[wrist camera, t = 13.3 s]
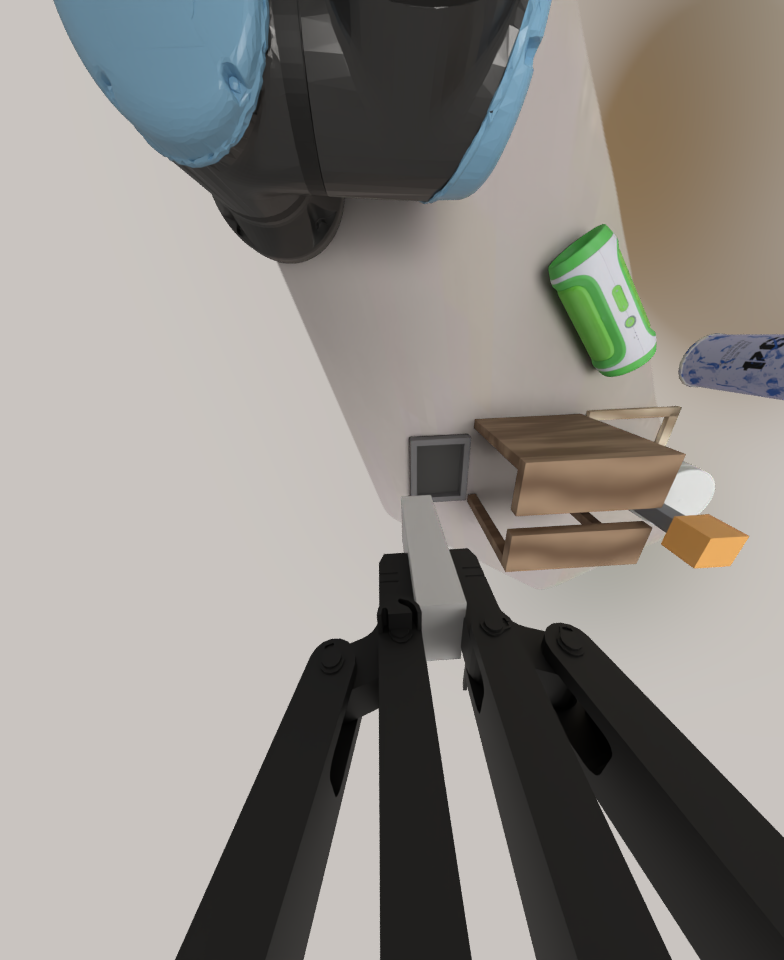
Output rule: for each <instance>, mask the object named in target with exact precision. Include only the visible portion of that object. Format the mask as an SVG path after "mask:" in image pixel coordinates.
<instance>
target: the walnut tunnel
mask: <svg viewBox="0 0 784 960" xmlns="http://www.w3.org/2000/svg"><path fill="white" fill-rule="evenodd" d="M474 428H475V429H476V430H477V431H478V432H479V433H480V434H481V435H482V436H483V437H484V438H485V439H486V440H487V441H488V442H489V443H490V444H491V445H492V446H494V447H495V448H496V449H497V450H498V451H499V452H500V453H501V454H502V455H503V456H504V457H505V458H506V459H507V460H508V461H509V462H510V463H511V464H512V465H513V466H515V467H516V468H517V469H518V471H517V477H516V483H515V488H514V494H513V500H512V506H511V510H512V512H513V513H514V514H515V516H528V515H545V514H562V513H570V514H571V515H572V516H573V517H575V518H576V519H577V520H578V521H579V522H580V523H581V524H582V525H567V526H550V527H533V528H516V529H507V534H506V540H504V539H503V537H502V536H501V534H500V532H499V531H498V529H497V528H496V526H495V524H494V523H493V521H492V520H491V518H490V516H489V515H488V513H487V511H486V510H485V508H484V507H483V505H482V503H481V502H480V500H479V499H478V497H477V495H476V494H469V495H468V499H467V502H468V504H469V505H470V507H471V509H472V511H473V513H474V515H475V516H476V518H477V520H478V522H479V524H480V526H481V528H482V529H483V531H484V533H485V535H486V537H487V539H488V540H489V542H490V544H491V546H492V548H493V550H494V552H495V553H496V555H497V557H498V559H499V561H500V563H501V564H502V566H503V568H504V570H505V572H512V571H529V570H545V569H561V568H577V567H593V566H609V565H625V564H636V563H637V561H638V559H639V557H640V554H641V552H642V550H643V548H644V546H645V543H646V541H647V539H648V537H649V535H650V532H651V530H652V527H651V526H649V525H648V524H646V523H645V522H644V521H635V522H618V523H601V522H600V521H598V520H597V519H596V518H595V517H594V516H593V515H591V514H590V513H589V512H597V511H614V510H632V509H649V508H662V506H663V504H664V502H665V499H666V497H667V495H668V493H669V491H670V488H671V486H672V484H673V482H674V480H675V477H676V475H677V473H678V471H679V469H680V466H681V464H682V462H683V460H684V457H685V455H686V454H684V453H681V452H679V451H676V450H673V449H671V448H668V447H666V446H663V445H660V444H658V443H655V442H653V441H650V440H647V439H645V438H642V437H640V436H637V435H634V434H632V433H629V432H626V431H624V430H621V429H619V428H616V427H613V426H611V425H608V424H606V423H603V422H600V421H598V420H595V419H593V418H590V417H587V416H585V415H582V414H569V415H549V416H529V417H510V418H490V419H475V424H474Z"/></svg>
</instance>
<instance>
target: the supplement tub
mask: <svg viewBox="0 0 784 960" xmlns="http://www.w3.org/2000/svg"><path fill="white" fill-rule="evenodd" d="M714 491H715V482H714V479H713V477H712V476H711V475H710V474H709V473H708V472H706V471H704V470H701V469H700V468H698V467H696V466H694V465H692V464H689V463H687V462H684V461H683V462H682V464H681V466H680V469H679V471H678V473H677V475H676V477H675V480H674V482H673V484H672V486H671V488H670V491H669V493H668V495H667V497H666V499H665V502H664V503H665V504H666V505H668V506H670V507H671V508H673V509H675V510H677V511H678V512H680V513H682V514H683V515H685V516H688V515H698V514H699V513H700V512H701V511H703V509H705V507H706V506H707V505H708V504H709V502H710V501H711V499H712V497H713V494H714ZM629 511H631V512H632V513H634V514H635V515H637V516H638V517H640V518H641V519H643V520H645V521H647V522H649V523H651V522H650V521H648V520H647V519H645V518H644V517H642V516H641V515H639V514H638V513H636V512H635V511H634V510H629ZM651 524H652V525H654V524H653V523H651ZM655 526H656V525H655Z"/></svg>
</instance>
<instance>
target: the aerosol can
mask: <svg viewBox="0 0 784 960" xmlns="http://www.w3.org/2000/svg"><path fill="white" fill-rule="evenodd" d="M679 379H680V380H681V382H682V383H683V384H685V385H687V386H689V387H704V388H710V389H716V390H723V391H729V392H735V393H742V394H748V395H754V396H761V397H767V398H774V399H780V400H784V335H726V334H719V333H715V334H711V335H707V336H705V337H703V338H701V339H700V340H698V341H697V342H696V343H694V344H693V345H692V346H691V347H690V348H689V349H688V351H687V352H686V353H685V355H684V356H683V358H682V360H681V362H680V366H679Z"/></svg>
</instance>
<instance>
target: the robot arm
mask: <svg viewBox="0 0 784 960" xmlns="http://www.w3.org/2000/svg"><path fill="white" fill-rule="evenodd" d="M551 1H552V0H54V3H55V5H56V8H57V11H58V13H59V16H60V18H61V20H62V23H63V25H64V28H65V30H66V32H67V34H68V36H69V38H70V40H71V42H72V44H73V46H74V48H75V50H76V51H77V53H78V55H79V57H80V59H81V60H82V62H83V64H84V65H85V67H86V69H87V70H88V72H89V73H90V75H91V76H92V78H93V79H94V81H95V82H96V84H97V85H98V86H99V88H100V89H101V90H102V92H103V93H104V94H105V96H106V97H107V98H108V99H109V100H110V102H111V103H112V104H113V105H114V106H115V107H116V108H117V109H118V111H119V112H120V113H121V114H122V115H123V116H124V117H125V118H126V119H128V120H129V121H130V122H131V123H132V124H133V125H134V127H135V128H136V129H137V131H138V132H139V133H140V134H141V135H142V136H143V137H144V139H145V140H146V141H147V142H148V144H149V145H150V146H151V147H152V148H154V149H155V150H156V151H157V152H158V153H160V154H161V155H163V156H164V157H168V159H169V160H171V161H173V162H174V163H175V164H176V165H178V166H179V167H180V168H181V169H182V170H184V171H185V172H186V173H187V174H189V175H190V176H191V177H192V178H193V179H195V180H196V181H197V182H198V183H199V184H200V185H202V186H203V187H204V188H205V189H206V190H208V191H209V192H210V193H211V194H212V196H213V198H214V200H215V203H216V205H217V207H218V209H219V210H220V212H221V214H222V216H223V217H224V219H225V220H226V222H227V223H228V224H229V226H230V227H231V228H232V230H233V231H234V232H235V233H236V234H237V235H238V236H239V237H240V238H241V239H242V240H243V241H244V242H245V243H246V244H247V245H249V246H250V247H252V248H253V249H254V250H256V251H257V252H259V253H260V254H262V255H264V256H265V257H267V258H270V259H272V260H275V261H278V262H283V263H299V262H303V261H306V260H309V259H311V258H313V257H315V256H316V255H318V254H319V253H321V252H322V251H323V250H324V249H325V248H326V247H327V246H328V244H329V243H330V242H331V240H332V239H333V237H334V235H335V234H336V231H337V229H338V227H339V224H340V221H341V218H342V214H343V208H344V199H345V197H346V198H366V199H386V200H406V201H419V202H421V203H423V204H427V203H433V202H435V201H437V200H460V199H464V198H466V197H469V196H470V195H472V194H473V193H475V192H476V191H477V190H478V189H479V188H480V187H481V186H482V185H483V183H484V182H485V181H486V180H487V178H488V177H489V175H490V174H491V172H492V171H493V169H494V168H495V166H496V164H497V162H498V160H499V158H500V156H501V155H502V153H503V151H504V148H505V146H506V144H507V142H508V140H509V138H510V135H511V133H512V131H513V128H514V126H515V123H516V121H517V118H518V116H519V113H520V111H521V108H522V105H523V102H524V99H525V97H526V94H527V91H528V88H529V85H530V81H531V78H532V74H533V71H534V70H533V67H532V66H533V58H534V55H535V53H536V51H537V49H538V46H539V44H540V42H541V40H542V38H543V35H544V31H545V27H546V23H547V19H548V14H549V10H550V6H551ZM401 508H402V541H403V549H404V553H396V554H384V555H383V557H382V559H381V561H380V563H379V608H378V612H377V622H378V624H377V626H376V627H375V629H374V630H373V632H372V633H370V634H369V635H368V636H366V637H364V638H362V639H360V640H357V641H355V642H353V643H349V642H348V641H345V640H343V639H330V640H328V641H325V642H323V643H322V644H320V645H319V646H318V647H317V648H316V649H315V650H314V652H313V653H312V655H311V656H310V659H309V661H308V663H307V665H306V668H305V670H304V672H303V674H302V676H301V679H300V681H299V683H298V685H297V688H296V690H295V692H294V695H293V697H292V699H291V701H290V703H289V706H288V708H287V710H286V712H285V715H284V717H283V719H282V721H281V724H280V726H279V728H278V730H277V733H276V735H275V737H274V739H273V741H272V744H271V746H270V748H269V750H268V753H267V755H266V757H265V760H264V762H263V764H262V766H261V769H260V771H259V773H258V775H257V777H256V780H255V782H254V784H253V786H252V789H251V791H250V793H249V796H248V798H247V800H246V802H245V804H244V806H243V809H242V811H241V813H240V816H239V818H238V820H237V822H236V824H235V827H234V829H233V831H232V833H231V836H230V838H229V840H228V842H227V845H226V847H225V849H224V851H223V854H222V856H221V858H220V861H219V863H218V865H217V867H216V869H215V871H214V874H213V876H212V878H211V881H210V883H209V885H208V887H207V889H206V892H205V894H204V896H203V899H202V901H201V903H200V905H199V908H198V910H197V912H196V914H195V916H194V919H193V921H192V923H191V925H190V928H189V930H188V932H187V934H186V936H185V939H184V941H183V943H182V945H181V948H180V950H179V952H178V954H177V957H176V959H175V960H303V959H304V955H305V951H306V947H307V943H308V938H309V934H310V929H311V926H312V922H313V918H314V913H315V910H316V905H317V901H318V897H319V892H320V889H321V885H322V881H323V876H324V872H325V868H326V864H327V859H328V856H329V852H330V847H331V843H332V839H333V835H334V831H335V827H336V823H337V818H338V814H339V810H340V806H341V802H342V797H343V793H344V789H345V785H346V781H347V777H348V772H349V769H350V765H351V760H352V756H353V752H354V748H355V744H356V740H357V736H358V731H359V727H360V723H361V719H362V716H364V715H366V714H368V713H370V712H372V711H374V710H376V709H378V708H379V801H380V803H379V809H380V810H379V812H380V813H379V814H380V960H472V958H471V951H470V945H469V939H468V932H467V925H466V919H465V912H464V906H463V899H462V892H461V886H460V880H459V873H458V866H457V860H456V853H455V846H454V840H453V833H452V827H451V820H450V813H449V807H448V801H447V794H446V787H445V782H444V774H443V768H442V761H441V754H440V748H439V741H438V735H437V728H436V722H435V715H434V709H433V702H432V695H431V689H430V682H429V676H428V669H427V662H426V661H433V660H448V659H460V658H461V650H462V653H463V657H464V661H465V669H464V678H463V690H467V687H468V691H469V695H470V699H471V703H472V706H473V711H474V715H475V718H476V723H477V726H478V730H479V734H480V738H481V742H482V746H483V750H484V754H485V758H486V762H487V766H488V770H489V774H490V778H491V782H492V786H493V789H494V794H495V798H496V802H497V805H498V809H499V813H500V817H501V821H502V825H503V829H504V833H505V837H506V841H507V845H508V849H509V853H510V857H511V861H512V865H513V868H514V873H515V877H516V881H517V885H518V888H519V892H520V896H521V900H522V904H523V908H524V912H525V916H526V920H527V924H528V928H529V932H530V936H531V940H532V944H533V948H534V952H535V956H536V959H537V960H672V959H671V957H670V955H669V953H668V951H667V949H666V946H665V944H664V942H663V940H662V938H661V936H660V933H659V931H658V929H657V927H656V925H655V923H654V921H653V919H652V916H651V914H650V912H649V910H648V908H647V906H646V904H645V902H644V900H643V897H642V895H641V893H640V891H639V889H638V887H637V884H636V882H635V880H634V878H633V876H632V874H631V872H630V870H629V868H628V865H627V863H626V861H625V859H624V857H623V855H622V853H621V851H620V849H619V846H618V844H617V842H616V840H615V838H614V836H613V833H612V831H611V829H610V827H609V825H608V823H607V821H606V819H605V816H604V814H603V812H602V810H601V808H600V806H599V804H598V802H599V803H600V805H601V806H602V808H603V809H604V811H605V813H606V814H607V815H608V817H609V819H610V820H611V821H612V823H613V825H614V826H615V828H616V830H617V831H618V832H619V834H620V836H621V837H622V839H623V840H624V842H625V843H626V845H627V846H628V848H629V849H630V851H631V853H632V854H633V856H634V857H635V859H636V860H637V862H638V864H639V865H640V867H641V868H642V870H643V871H644V873H645V874H646V876H647V878H648V879H649V881H650V882H651V883H652V885H653V887H654V888H655V890H656V891H657V893H658V894H659V896H660V898H661V899H662V901H663V902H664V904H665V905H666V907H667V908H668V910H669V911H670V913H671V915H672V916H673V918H674V919H675V921H676V922H677V924H678V925H679V927H680V929H681V930H682V932H683V933H684V935H685V936H686V938H687V939H688V941H689V942H690V944H691V945H692V947H693V949H694V950H695V952H696V953H697V955H698V956H699V958H700V960H784V837H782V835H781V834H780V833H779V832H778V831H777V830H776V829H775V828H774V827H773V826H772V825H771V824H770V823H769V822H768V821H767V820H766V819H765V818H764V817H763V816H762V815H761V814H760V813H759V812H758V811H757V810H756V809H755V808H754V807H753V806H752V804H751V803H750V802H749V801H748V800H747V799H746V798H745V797H744V796H743V795H742V794H741V793H740V792H739V791H738V790H737V789H736V788H735V787H734V786H733V785H732V784H731V783H730V782H729V781H728V780H727V779H726V778H725V777H724V776H723V775H722V774H721V773H720V772H719V770H718V769H717V768H716V767H715V766H714V765H713V764H712V763H711V762H710V761H709V760H708V759H707V758H706V757H705V756H704V755H703V754H702V753H701V752H700V751H699V750H698V749H697V748H696V747H695V746H694V745H693V744H692V743H691V742H690V741H689V740H688V739H687V737H686V736H685V735H684V734H683V733H681V732H680V730H679V729H678V728H677V727H676V726H675V725H674V724H673V723H672V722H671V721H670V720H669V719H668V718H667V717H666V716H665V715H664V714H663V713H662V712H661V711H660V710H659V709H658V708H657V707H656V706H655V705H654V704H653V702H652V701H650V699H649V698H648V697H647V696H646V695H644V694H643V692H642V691H641V690H640V689H639V688H638V687H637V686H636V685H635V684H634V683H633V682H632V681H631V680H630V679H629V678H628V677H627V676H626V675H625V674H624V673H623V672H622V671H621V670H620V669H619V667H617V665H616V664H615V663H614V662H613V661H612V660H611V659H610V658H609V657H608V656H607V655H606V654H605V653H604V652H603V651H602V650H601V649H600V648H599V647H598V646H597V645H596V644H595V643H594V642H593V641H592V640H591V639H590V638H589V637H588V636H587V635H586V634H585V633H583V632H582V631H581V630H580V629H578V628H576V627H573V626H572V625H569V624H564V623H553V624H551V625H550V626H548V627H547V628H546V631H541V630H537V629H533V628H528V627H524V626H521V625H518V624H517V623H515V622H513V621H512V620H511V619H510V618H509V617H508V616H507V615H505V613H503V612H502V611H501V610H500V608H499V606H498V604H497V602H496V600H495V597H494V595H493V593H492V591H491V588H490V586H489V584H488V582H487V579H486V577H485V576H484V573H483V570H482V568H481V566H480V564H479V561H478V559H477V557H476V556H475V555H474V554H473V553H472V552H471V551H470V550H469V549H468V548H465V549H450V550H449V548H448V545H447V542H446V539H445V536H444V533H443V530H442V527H441V524H440V521H439V518H438V515H437V512H436V509H435V506H434V503H433V500H432V497H431V495H421V496H404V497H401ZM597 800H598V802H597Z"/></svg>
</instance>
